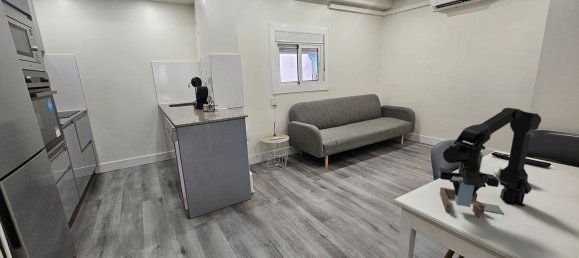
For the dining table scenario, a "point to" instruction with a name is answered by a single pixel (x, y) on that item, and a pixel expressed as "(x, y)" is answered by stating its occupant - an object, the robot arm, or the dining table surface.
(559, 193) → the dining table surface
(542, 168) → the dining table surface
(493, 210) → the grey mat
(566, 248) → the dining table surface
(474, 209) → the brown angular open frame
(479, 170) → the soda can
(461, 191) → the slate block
